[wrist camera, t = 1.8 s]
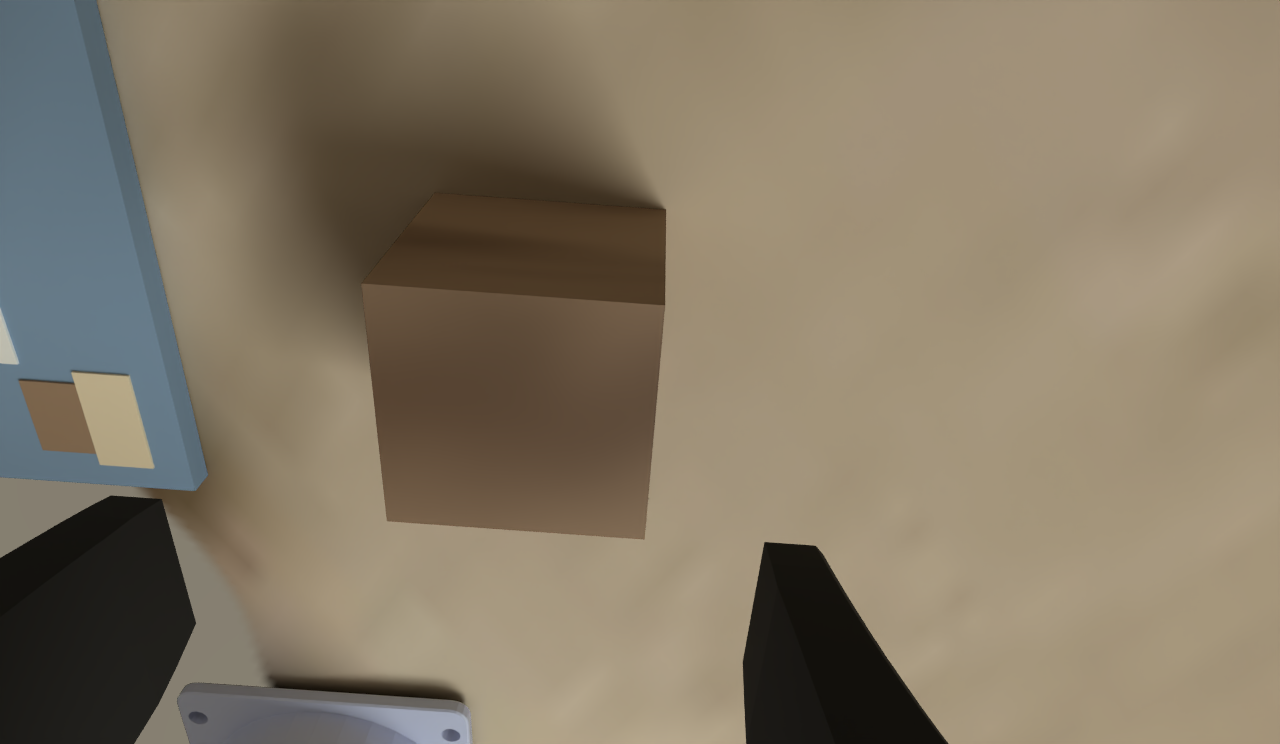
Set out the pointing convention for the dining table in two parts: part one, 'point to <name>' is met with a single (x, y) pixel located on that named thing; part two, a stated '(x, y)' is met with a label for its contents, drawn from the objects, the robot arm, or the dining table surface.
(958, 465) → the dining table surface
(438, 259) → the walnut block
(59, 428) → the board
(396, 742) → the robot arm
